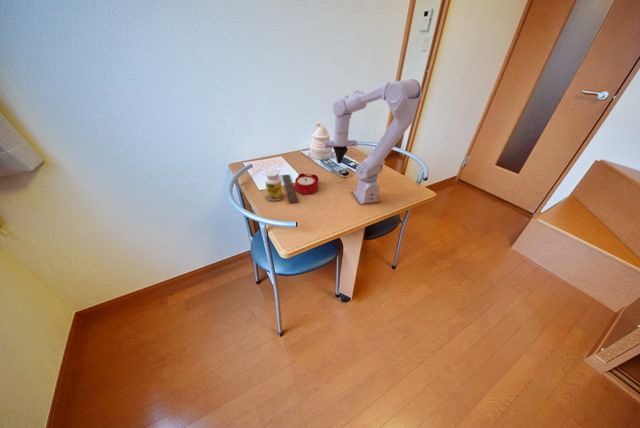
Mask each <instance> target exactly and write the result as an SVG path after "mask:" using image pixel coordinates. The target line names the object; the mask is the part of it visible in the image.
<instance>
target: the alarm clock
mask: <svg viewBox="0 0 640 428" xmlns="http://www.w3.org/2000/svg"><path fill="white" fill-rule="evenodd" d="M318 182H319V177H318V175H317V174H315V173H313V174H311V173H299V174H298V175H297V177H296V178H295V180H294V183H295V184H294V186H293V189H294V191H295V192H297V193H300V194H302V195H303V196H305V195H307V194H312V193H315V192H316V191H317V190H318V188H319V186H318V184H317V183H318Z"/></svg>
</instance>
